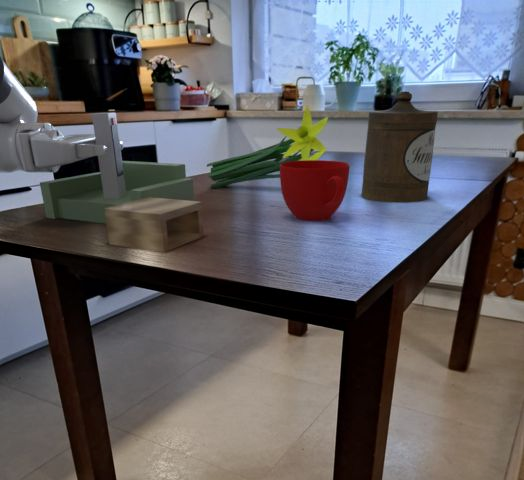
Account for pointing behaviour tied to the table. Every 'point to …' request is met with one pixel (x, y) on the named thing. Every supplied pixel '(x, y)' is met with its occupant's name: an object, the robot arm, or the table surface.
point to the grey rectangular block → (109, 155)
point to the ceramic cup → (313, 187)
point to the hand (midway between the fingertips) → (113, 147)
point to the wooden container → (399, 152)
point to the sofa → (93, 203)
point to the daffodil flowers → (271, 155)
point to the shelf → (154, 223)
